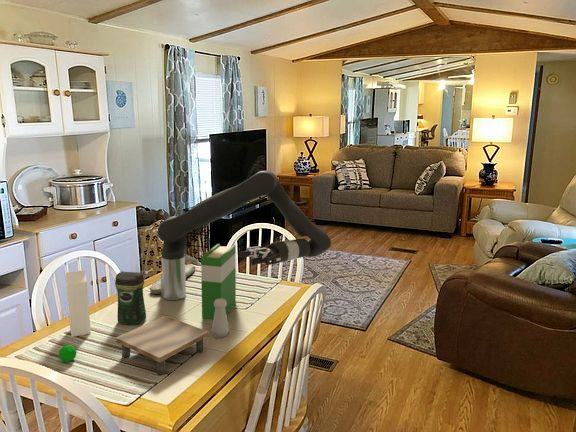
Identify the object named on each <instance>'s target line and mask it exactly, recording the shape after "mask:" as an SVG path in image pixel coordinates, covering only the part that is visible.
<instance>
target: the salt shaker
mask: <svg viewBox="0 0 576 432" xmlns="http://www.w3.org/2000/svg"><path fill="white" fill-rule="evenodd" d="M226 305H227V302H226V300H225V299H222V298H220V299H216V300H215V301H214V307H216V308H215V314H214V319H213V320H212V326H211V332H212V333H213V335H214V337H215V338H218V339H219V338H220V339H223V338H225V337H227V334H228V332H229V331H230V327H229V322H228V317H227V314H226V311H225V307H226Z"/></svg>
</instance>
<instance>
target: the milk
mask: <svg viewBox="0 0 576 432" xmlns="http://www.w3.org/2000/svg"><path fill="white" fill-rule="evenodd" d="M87 280H88V279H87V275H86V270H85V269H81V270H76V271H75V270H74V271H67V272H65V285H66V297H67V308H68V309H67V311H68V318H69V320H68V321H69V330H70V331H69V332H70V334H71V338H74V337H78V336H79V337H80V336H83V335H90V334H91V333H92V332H91V320H90V306H89V305H90V304H89V294H88V293H89V291H88V281H87Z"/></svg>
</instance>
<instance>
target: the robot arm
mask: <svg viewBox="0 0 576 432" xmlns="http://www.w3.org/2000/svg"><path fill="white" fill-rule="evenodd" d="M264 196H266V197H267V198H268V199H270V201H271V202H273V204H274V205H275V206H276V207H277V209H278V210H279V212H280V214H282V216H283V217H284V219H285V221H286V223H288V225H289V226H290V227H291V228H292V230H293V231H294V232H295V233H296V234H297V235H298V236H299V237H300V238H296V239H287V240H281V241H280V240H279V241H274V242H270V243H269V245H268V247H262V245H256V246H249V247H246V250H242V251H238V258H240V259H244V258H251V259H250V261H251V262H250V265H252V266H256V265H260V264H261V265H262V264H263V265H267V266H271V265H274V264H280V263H285V262H288V261H293V260H295V259H301V258H314V257H318V256H320V255H322V254H323V253H325V252H326V251H328V250H329V249H330V248H331V246H332V240H331V237H330V236H329V235H328V233H327V232H325V231H324V230H323V229H322V228H320V227H318V226H317V225H316V224H314V223H312V221H311V220H310V219H309V218H308V217H307V215H306V214H305V213H304V212H303V211H302V210H301V209H300V207H298V205H297V204H296V203H295V202H294V201H293V199H292V198H291V197H290V196H289V195H288V194H287V192H286V191H285V189H284V187H283V185H282V184H281V183H280V181H279V179H278V177H277V176H276V174H275V173H274V172H272V171H271V170H260V171H258V172H257V173H255V174H253V175H252V176H250V177H249V178H247V179H246V180H244V181H243V182H241V183H238V184H237V185H236V186H232V187H230V188H226V189H224V190H222V191H219V192H217V193H215V194H214V195H211V196H209V197H207V198H206V199H204V200H201V202H199V203H198V204H196V205H194V206H193V207H191V208H190V209H189V210H187V211H186V212H185V213H182V214H180V215H173V216H172V215H171V216H169V217H167V218H165V219H164V220H162V221H161V223H160V224H159V225H158V227H157V236H158V238H159V239H160V241H162V242H163V245H162V248H161V251H160V253H161V273H160V277H161V294H160V295H161V297H162V298H163V299H165V300H167V301H176V300H182V299H184V298H186V296H187V294H186V293H187V290H186V289H187V288H186V284H187V283H186V279H185V265H186V248H187V234H189V233H190V232H192V231H194V230H196V229H198V228H200V227H201V228H202V227H203V226H207V225H208V224H210V223H211V224H212V223H213V222H215V221H217V220H220V219H222V218H225V216H228V215H230V214H231V213H233V212H235V210H238V209H239V208H240V207H242V206H243V205H244V204H246V203H248V202H250V201H252V200H255V199H258V198H260V197H264ZM302 237H308V238H309V239H306V238H302Z"/></svg>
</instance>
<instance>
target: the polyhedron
mask: <svg viewBox="0 0 576 432" xmlns="http://www.w3.org/2000/svg"><path fill="white" fill-rule="evenodd" d="M76 356H77V349H76V347H75V346H74V345H71V344H66V345H63V346H62V347H60V348H59V351H58V358H59V359H60V361H61V362H64V363H68V362H72V361H73V360H74V359H75V358H76Z"/></svg>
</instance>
